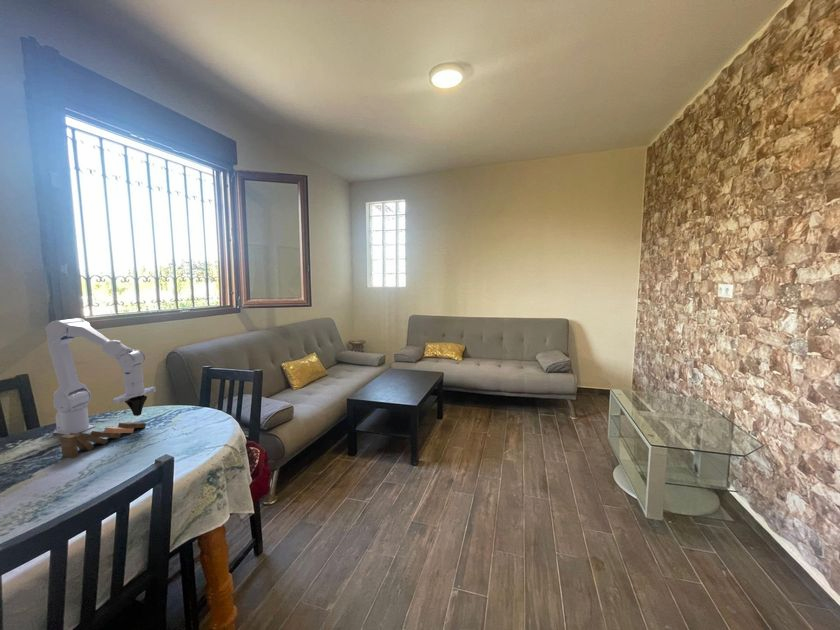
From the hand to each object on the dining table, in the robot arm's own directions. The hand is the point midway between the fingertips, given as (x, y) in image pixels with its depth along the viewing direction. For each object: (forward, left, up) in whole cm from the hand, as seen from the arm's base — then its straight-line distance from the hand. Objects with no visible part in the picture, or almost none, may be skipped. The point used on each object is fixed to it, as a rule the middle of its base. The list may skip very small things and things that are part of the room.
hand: (137, 415), depth 133 cm
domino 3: (0, -13, -5) cm, 14 cm away
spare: (0, -4, -4) cm, 6 cm away
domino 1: (0, -22, -5) cm, 23 cm away
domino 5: (0, +1, -4) cm, 5 cm away
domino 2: (0, -17, -5) cm, 18 cm away
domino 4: (0, -8, -4) cm, 9 cm away
